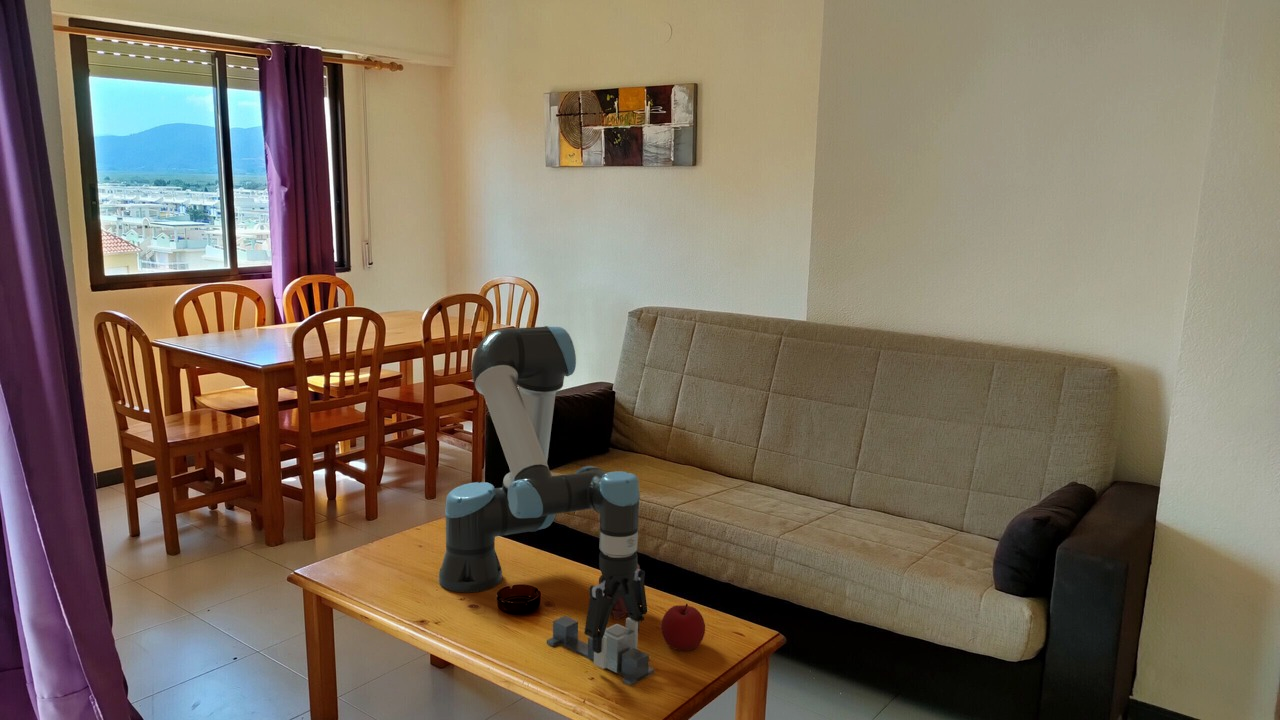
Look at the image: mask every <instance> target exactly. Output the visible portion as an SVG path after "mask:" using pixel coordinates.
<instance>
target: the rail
mask: <svg viewBox="0 0 1280 720" xmlns="http://www.w3.org/2000/svg"><path fill="white" fill-rule="evenodd" d="M592 641H593V638H592V637H590V636H588V637H587V643H586V642H584V641H582V640H580V639H579V621H577V620H575V619H573V618H571V617H569V616H567V615H564V616H563V615H562V616H561V617H559V618H557V619H554V620H553V621H552V637H551V638H548V639H546V644H547V645H549V646H550V647H553V648H554V647H556V646H559V645H560V646H563V648H567V649H568V650H571V651H572V652H574V653H577V655H581V656H583V657H584V658H587V659H589V661H593V662H594V651H593V650H592V647H593V646H592V645H593V644H592ZM649 663H650V655H649V654H648V653H646V652H643V651H641V650H639V649H638V648H637V649H635V648H633V649H631V650H629V651H627V652H625V653H623V654H622V671H620V672H618V673H617V674H619V675H621V676H622V677H623V678H622V683H623V684H625V685H628V686H629V687H631V686H633V685H635V684H636V683H639V682H640V681H642V680H643V679H645V678H648V677H649V676H651V675H653V674H655V668H653V667H651V666H649V665H650V664H649Z"/></svg>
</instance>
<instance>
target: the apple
mask: <svg viewBox="0 0 1280 720" xmlns="http://www.w3.org/2000/svg"><path fill="white" fill-rule="evenodd" d="M705 623H706V622H705V620H704V617H703V615H702V614H701V612H700V611H699V610H698V609H696V608H695V607H693V606H692V605H691V606H690V605H688V603H686V604H685V605H684V604H683V605H679V604H678V605H677V604H676V605H673V606H672V607H670V608H669V609H667V611H666V612H665V613H664V616H663V617H662V620H661V624H660V630H661V634H662V637H663V639H664V642H665V643H666V644H667V645H668V646H669V647H670V648H671V649H674V650H677V651H682V652H683V651H690V650H693V649H695V648H698V647H699V645H700V644H701V643H702V641H703V640H704V637H705V634H706V624H705Z"/></svg>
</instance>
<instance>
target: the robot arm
mask: <svg viewBox="0 0 1280 720" xmlns="http://www.w3.org/2000/svg"><path fill="white" fill-rule="evenodd" d="M472 357H473V358H472V363H471V376H472V378H471V379H472V382H473V384H474V387H475V389H476V391H477V392H478V393H479V394H480V395H483V399H484V400H485V403H486V407H487V409H488V412H489V415H490V418H491V421H492V423H493V426H494V429H495V432H496V435H497V437H498V439H499V442H500V445H501V448H502V451H503V455H504V457H505V460H506V462H507V465H508V467H509V472H508V473H506V474H505V475H504V477H503V481H502V487H496V488H495V486H494V485H493V484H492V483H489V482H485V481H482V482H478V481H476V482H469V483H465V484H461V485H459V486H457V487H455V488H453V489H452V490H451V491H450V492H448V494H447V495H446V499H445V509H444V515H445V553H444V555H443V556H444V557H443V559H442V563H441V567H440V569H439V571H438V583H439V585H440V586H441V587H443V589H446V590H447V591H451V592H457V593H476V592H478V593H479V592H483V591H487V590H490V589H492V588H495V587H496V586H498V585H499V584H500V583H501V582H502V578H503V570H502V567H501V563H500V560H499V557H498V554H497V552H496V549H495V546H496V545H495V538H496V537H501V536H509V535H515V534H521V533H527V532H530V533H532V532H537V531H539V530H542V529H543V530H544V529H546V528H548V527H550V526H551V524H552V523H553V522H554V520H555V518H556V515H557V514H562V513H563V514H564V513H572V512H573V513H574V512H578V511H586V510H594V511H596V512H597V513H598V514H599V542H598V543H599V546H598V547H599V550H600V551H599V554H598V568H599V570H600V572H601V575H602V578H601V581H600V584H599V583H598V584H596V586H595V585H590V586H589V588H588V591H589V601H588V608H587V614H586V619H585V620H586V621H585V625H584V631H583V633H584V635H585V636H588V637H592V638H593V641H592V644H593V645H592V646H593V647H592V650H593V651H594V661H593V665H594V666H597V667H599V668H600V669H607V668H606V652H607V637H606V636H604V633H605V630H606V628H608V627H607V626H608V623H609V620H610V617H611V613H612V612H611V611H612V608H613V605H615V604H616V602H617V599H618V598H619V597H620V596H622V598H623V601H624V603H625V606H626V609H627V612H628V616H629V617H627V618H625V627H626V628H628V629H630V630H632V631H634V632H635V649H637V650H638V643H639V642H638V640H639V639H638V638H639V635H638V634H639V632H640V622H643V621H644V620H645V616H643V615H647V614H648V605H647V598H646V597H647V596H646V588H645V586H646V585H645V577H646V571H645V570H643V569H641V568H640V569H638V568H637V564H638V552H637V550H638V538H639V537H638V536H639V535H638V534H639V516H640V515H639V514H640V513H639V511H640V498H641V494H640V481H639V480H640V479H639V478H638V476H637V475H636V474H635V473H632V472H627V471H621V470H618V471H616V470H615V471H610V472H607V471H605V470H603V469H602V468H599V467H596V466H593V465H585V466H581V468H579V469H577V470H576V471H575V472H574V473H568V474H559V475H552V473H551V470H550V467H549V465H548V458H549V452H550V451H549V449H550V442H551V435H552V434H551V432H552V426H553V425H552V424H553V417H554V409H555V400H556V394H557V392H558V391H560V390H561V389H562V388H563V387H564V381H565V377H569V376H571V375H574V372H575V370H576V365H577V356H576V349H575V345H574V342H573V340H572V338H571V336H570V334H569V332H568V330H566V329H565V328H564V327H561V326H548V325H545V326H536V327H533V326H531V327H514V328H513V327H511V328H510V327H506V328H504V327H503V328H499V329H497V330H494V331H492V332H490V333H489V334H488V335H486V336H485V337H484V338H483V339H482V340H481V342H479V344H478V345H477V348H476V350H475V351H474V353H473V356H472ZM607 596H609V597H611V598H612V599H610V598H607Z"/></svg>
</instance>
